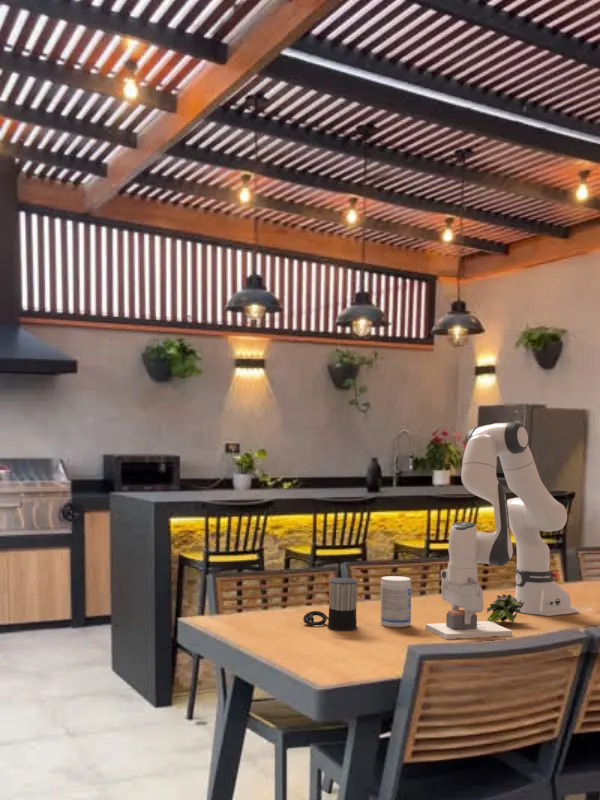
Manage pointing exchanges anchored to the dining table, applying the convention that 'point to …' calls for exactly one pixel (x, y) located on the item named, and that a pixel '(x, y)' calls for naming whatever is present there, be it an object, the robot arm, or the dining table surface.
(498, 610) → the green leafy plant
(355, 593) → the milk frother
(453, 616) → the block
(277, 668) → the dining table surface
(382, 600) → the supplement tub
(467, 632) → the board
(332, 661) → the dining table surface
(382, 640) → the dining table surface
